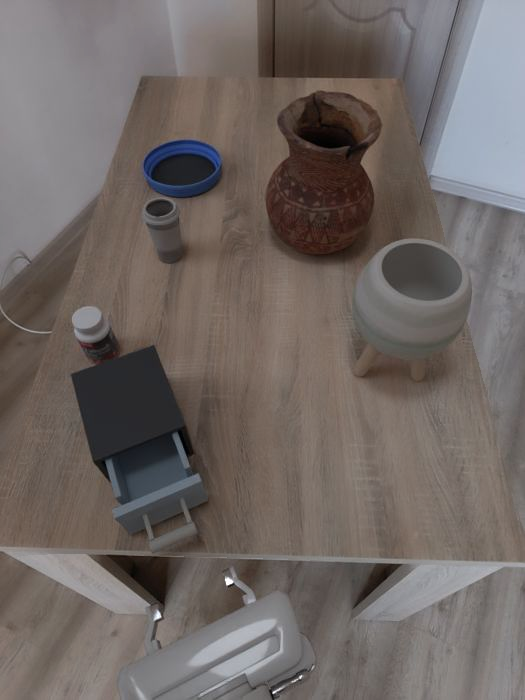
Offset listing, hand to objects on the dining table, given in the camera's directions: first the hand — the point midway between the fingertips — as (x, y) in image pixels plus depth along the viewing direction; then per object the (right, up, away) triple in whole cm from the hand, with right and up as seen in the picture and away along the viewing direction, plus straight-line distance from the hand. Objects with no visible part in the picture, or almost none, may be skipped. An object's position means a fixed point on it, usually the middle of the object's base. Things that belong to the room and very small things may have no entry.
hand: (190, 586), depth 56 cm
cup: (-10, +47, +40) cm, 63 cm away
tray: (-6, +8, +12) cm, 16 cm away
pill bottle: (-19, +28, +27) cm, 43 cm away
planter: (+30, +26, +25) cm, 47 cm away
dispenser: (-11, +16, +18) cm, 26 cm away
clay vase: (+20, +53, +44) cm, 72 cm away
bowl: (-10, +69, +55) cm, 89 cm away
